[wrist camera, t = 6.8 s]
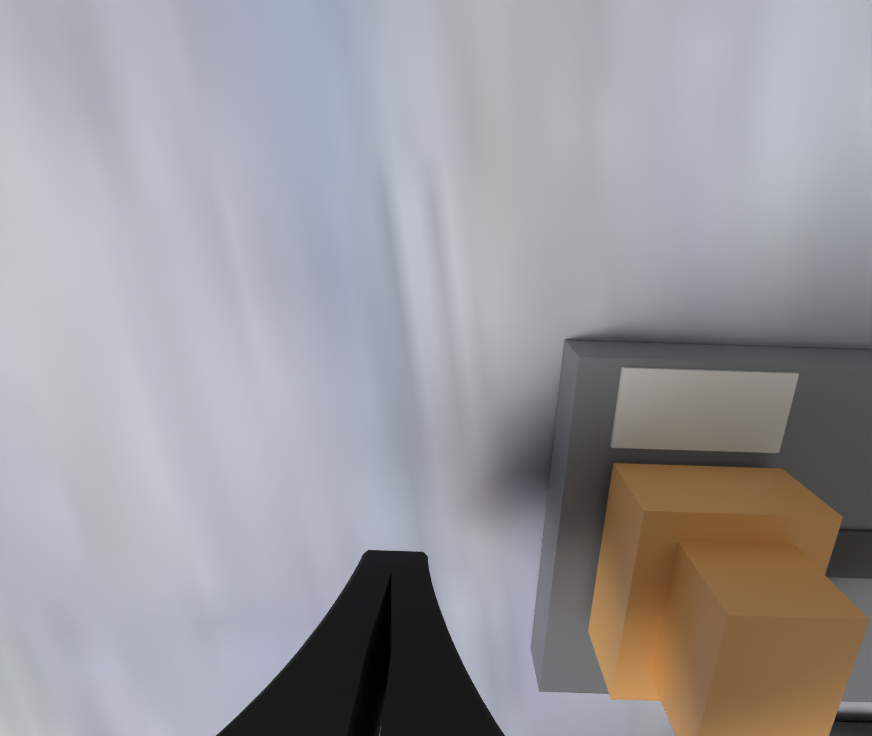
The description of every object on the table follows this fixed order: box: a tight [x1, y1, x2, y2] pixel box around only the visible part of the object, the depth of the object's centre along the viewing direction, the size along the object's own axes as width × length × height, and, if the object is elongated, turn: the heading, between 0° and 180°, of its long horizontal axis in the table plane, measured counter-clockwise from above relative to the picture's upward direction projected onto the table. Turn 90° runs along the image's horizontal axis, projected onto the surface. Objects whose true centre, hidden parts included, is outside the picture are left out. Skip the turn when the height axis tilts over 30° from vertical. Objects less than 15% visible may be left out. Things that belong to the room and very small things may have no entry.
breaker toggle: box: [588, 463, 870, 736], centre depth 11 cm, size 4×5×4 cm
